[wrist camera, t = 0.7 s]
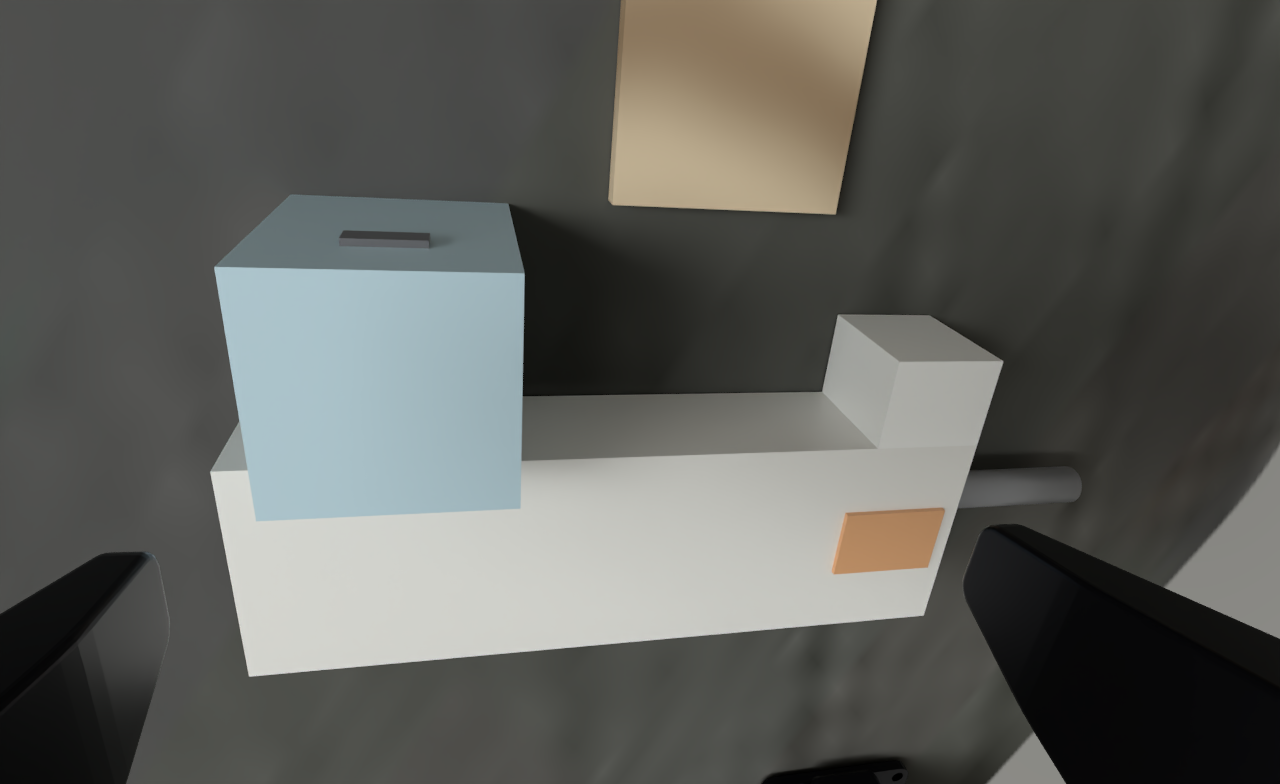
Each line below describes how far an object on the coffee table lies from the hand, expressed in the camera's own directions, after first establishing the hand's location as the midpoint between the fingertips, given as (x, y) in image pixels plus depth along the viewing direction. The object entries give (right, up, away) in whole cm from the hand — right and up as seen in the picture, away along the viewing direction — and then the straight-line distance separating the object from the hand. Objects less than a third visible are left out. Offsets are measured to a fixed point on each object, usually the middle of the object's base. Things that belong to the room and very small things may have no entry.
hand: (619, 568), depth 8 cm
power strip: (+2, 0, +15) cm, 15 cm away
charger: (-6, +3, +11) cm, 13 cm away
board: (+3, +10, +10) cm, 14 cm away
